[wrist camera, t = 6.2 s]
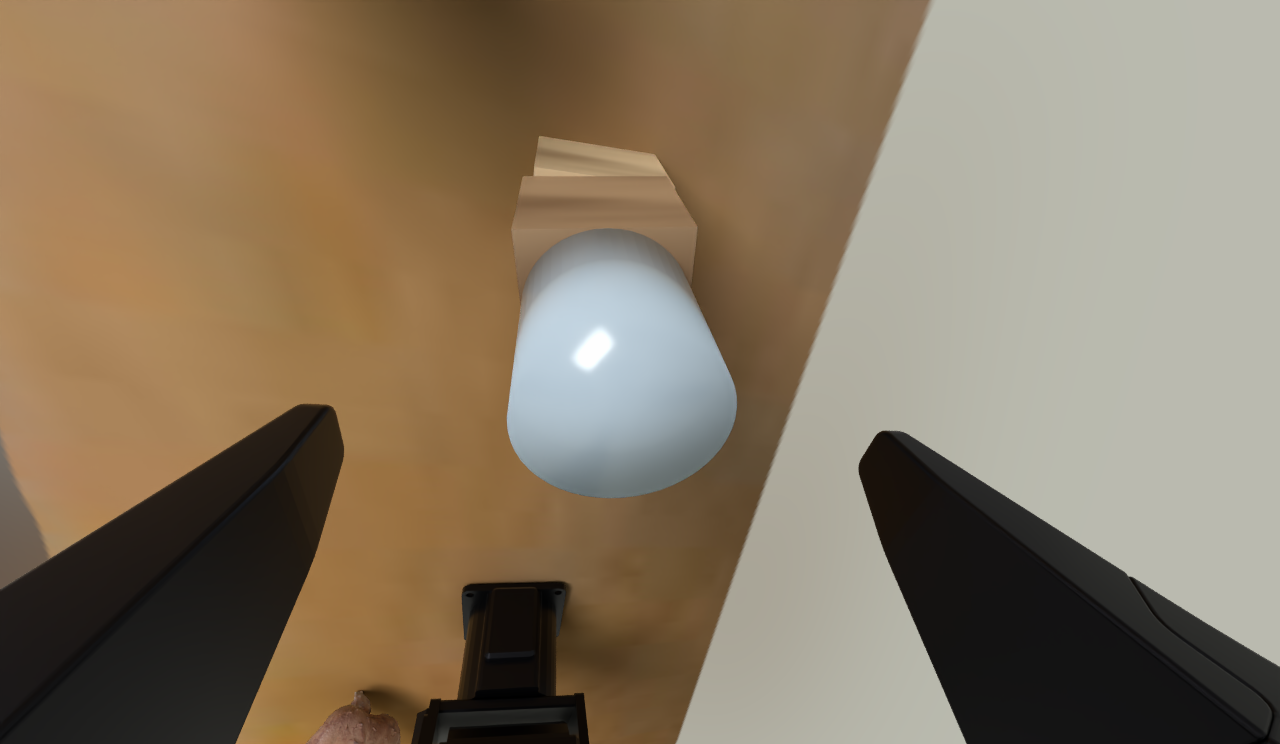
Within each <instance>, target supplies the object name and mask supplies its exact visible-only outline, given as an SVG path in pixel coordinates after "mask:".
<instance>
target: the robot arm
mask: <svg viewBox="0 0 1280 744" xmlns="http://www.w3.org/2000/svg"><path fill="white" fill-rule="evenodd" d="M343 457H344V445H343V440H342V436H341V432H340V428H339V424H338V419H337V415H336V412H335V410H334V409H333V407H331V406H329V405H320V404H300V405H297V406H295V407H293V408H292V409H290V410H288V411H287V412H285V413H284V414H282V415H280V416H279V417H277V418H276V419H274V420H272V421H271V422H269V423H268V424H266V425H264V426H263V427H261V428H259V429H258V430H256V431H255V432H253V433H251V434H250V435H248V436H247V437H245V438H243V439H242V440H240V441H239V442H237V443H235V444H234V445H232V446H231V447H229V448H227V449H226V450H224V451H222V452H221V453H219V454H218V455H216V456H214V457H213V458H211V459H210V460H208V461H206V462H205V463H203V464H202V465H200V466H198V467H197V468H195V469H194V470H192V471H190V472H189V473H187V474H185V475H184V476H182V477H181V478H179V479H177V480H176V481H174V482H173V483H171V484H169V485H168V486H166V487H165V488H163V489H161V490H160V491H158V492H156V493H155V494H153V495H152V496H150V497H148V498H147V499H145V500H144V501H142V502H140V503H139V504H137V505H136V506H134V507H132V508H131V509H129V510H128V511H126V512H124V513H123V514H121V515H119V516H118V517H116V518H115V519H113V520H111V521H110V522H108V523H107V524H105V525H103V526H102V527H100V528H99V529H97V530H95V531H94V532H92V533H90V534H89V535H87V536H86V537H84V538H82V539H81V540H79V541H78V542H76V543H74V544H73V545H71V546H70V547H68V548H66V549H65V550H63V551H62V552H60V553H58V554H57V555H55V556H53V557H52V558H50V559H49V560H47V561H45V562H44V563H42V564H41V565H39V566H37V567H36V568H34V569H33V570H31V571H29V572H28V573H26V574H25V575H23V576H21V577H20V578H18V579H16V580H15V581H13V582H12V583H10V584H8V585H7V586H5V587H4V588H2V589H0V744H235V743H236V741H237V739H238V736H239V734H240V732H241V729H242V727H243V725H244V722H245V720H246V718H247V715H248V713H249V711H250V708H251V706H252V703H253V701H254V699H255V696H256V694H257V692H258V689H259V687H260V685H261V682H262V680H263V678H264V675H265V673H266V671H267V668H268V666H269V664H270V661H271V659H272V657H273V654H274V652H275V650H276V647H277V645H278V643H279V640H280V638H281V635H282V633H283V631H284V628H285V626H286V624H287V621H288V619H289V617H290V614H291V612H292V610H293V607H294V605H295V603H296V600H297V598H298V596H299V593H300V591H301V589H302V586H303V584H304V582H305V579H306V577H307V575H308V572H309V570H310V567H311V564H312V562H313V559H314V557H315V554H316V551H317V547H318V544H319V541H320V538H321V534H322V531H323V527H324V524H325V521H326V517H327V514H328V510H329V507H330V503H331V500H332V496H333V493H334V490H335V486H336V483H337V479H338V476H339V472H340V469H341V466H342V462H343ZM859 475H860V479H861V482H862V485H863V488H864V491H865V494H866V497H867V501H868V504H869V507H870V510H871V513H872V516H873V519H874V522H875V526H876V529H877V532H878V535H879V538H880V541H881V544H882V547H883V549H884V552H885V555H886V557H887V559H888V562H889V564H890V567H891V569H892V571H893V574H894V576H895V578H896V581H897V583H898V585H899V588H900V590H901V592H902V594H903V597H904V599H905V602H906V604H907V606H908V609H909V611H910V613H911V616H912V618H913V620H914V622H915V625H916V627H917V630H918V632H919V634H920V636H921V639H922V641H923V644H924V646H925V648H926V651H927V653H928V655H929V657H930V660H931V662H932V664H933V667H934V669H935V671H936V674H937V676H938V678H939V680H940V683H941V685H942V688H943V690H944V692H945V695H946V697H947V699H948V702H949V704H950V706H951V709H952V711H953V713H954V716H955V718H956V720H957V723H958V725H959V727H960V730H961V732H962V734H963V736H964V738H965V741H966V743H967V744H1280V667H1279V666H1277V665H1276V664H1274V663H1272V662H1271V661H1269V660H1267V659H1265V658H1264V657H1262V656H1260V655H1259V654H1257V653H1255V652H1254V651H1252V650H1250V649H1249V648H1247V647H1245V646H1244V645H1242V644H1240V643H1238V642H1237V641H1235V640H1233V639H1232V638H1230V637H1228V636H1227V635H1225V634H1223V633H1222V632H1220V631H1218V630H1217V629H1215V628H1213V627H1212V626H1210V625H1208V624H1207V623H1205V622H1203V621H1202V620H1200V619H1199V618H1197V617H1195V616H1194V615H1192V614H1190V613H1189V612H1187V611H1185V610H1184V609H1182V608H1181V607H1179V606H1177V605H1176V604H1174V603H1173V602H1171V601H1170V600H1168V599H1166V598H1165V597H1163V596H1162V595H1160V594H1158V593H1157V592H1155V591H1154V590H1152V589H1150V588H1149V587H1147V586H1146V585H1144V584H1143V583H1141V582H1140V581H1138V580H1136V579H1135V578H1133V577H1128V576H1127V574H1126V573H1125V572H1124V571H1122V570H1120V569H1119V568H1117V567H1116V566H1114V565H1113V564H1111V563H1109V562H1108V561H1106V560H1105V559H1103V558H1101V557H1100V556H1098V555H1097V554H1095V553H1094V552H1092V551H1090V550H1089V549H1087V548H1086V547H1084V546H1083V545H1081V544H1080V543H1078V542H1076V541H1075V540H1073V539H1072V538H1070V537H1069V536H1067V535H1065V534H1064V533H1062V532H1061V531H1059V530H1057V529H1056V528H1054V527H1053V526H1051V525H1050V524H1048V523H1047V522H1045V521H1043V520H1042V519H1040V518H1039V517H1037V516H1035V515H1034V514H1032V513H1031V512H1029V511H1027V510H1026V509H1025V508H1023V507H1021V506H1020V505H1018V504H1017V503H1015V502H1013V501H1012V500H1010V499H1009V498H1007V497H1006V496H1004V495H1002V494H1001V493H999V492H998V491H996V490H994V489H993V488H991V487H990V486H988V485H987V484H985V483H984V482H982V481H980V480H979V479H977V478H976V477H974V476H973V475H971V474H969V473H968V472H966V471H965V470H963V469H962V468H960V467H958V466H957V465H955V464H954V463H952V462H951V461H949V460H947V459H946V458H944V457H943V456H941V455H940V454H938V453H936V452H935V451H933V450H931V449H930V448H929V447H927V446H925V445H924V444H922V443H921V442H919V441H918V440H916V439H914V438H913V437H911V436H910V435H908V434H906V433H904V432H900V431H881V432H879V433H878V434H877V435H876V436H875V438H874V439H873V441H872V443H871V444H870V446H869V447H868V449H867V451H866V452H865V454H864V455H863V457H862V458H861V460H860V463H859ZM565 595H566V585H565V584H563V583H532V584H489V585H467V586H465V587H464V588H463V590H462V610H463V626H464V639H465V640H466V643H465V650H464V657H463V664H462V671H461V677H460V684H459V691H458V698H457V700H441V699H431V701H430V706H429V708H427V710H424V711H422V712H420V713H418V714H417V719H416V724H415V729H414V734H413V738H412V743H411V744H589V737H588V728H587V719H586V710H585V701H584V693H575V694H574V695H564V696H556V637H557V636H558V635H559V631H560V625H561V619H562V613H563V607H564V601H565Z"/></svg>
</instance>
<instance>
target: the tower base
mask: <svg viewBox="0 0 1280 744" xmlns="http://www.w3.org/2000/svg"><path fill="white" fill-rule="evenodd" d="M534 176H667V178H668V179H669V181H670V183H671V184H672V186H673V188H674V189H675V186H674V184H673V183H672V181H671V180H670V178H669V176H668V175H667V173H666V172H665V170H664V168H663V167H662V165H661V164H660V162H659V160H658V159H657V157H656V156H655V154H650V153H644V152H638V151H632V150H625V149H619V148H613V147H607V146H600V145H594V144H588V143H582V142H575V141H569V140H563V139H557V138H550V137H544V136H539V140H538V146H537V152H536V159H535V165H534Z"/></svg>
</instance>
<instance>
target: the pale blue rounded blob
mask: <svg viewBox="0 0 1280 744" xmlns="http://www.w3.org/2000/svg"><path fill="white" fill-rule="evenodd" d="M736 410H737V395H736V391H735V386H734V383H733V380H732V378H731V376H730V373H729V371H728V369H727V367H726V364H725V362H724V360H723V358H722V356H721V353H720V351H719V349H718V347H717V345H716V343H715V340H714V338H713V336H712V334H711V332H710V329H709V327H708V325H707V323H706V321H705V318H704V316H703V314H702V312H701V310H700V307H699V305H698V303H697V301H696V299H695V296H694V294H693V292H692V290H691V288H690V285H689V283H688V281H687V279H686V277H685V275H684V272H683V270H682V269H681V267H680V265H679V264H678V262H677V261H676V259H675V258H674V257H673V256H672V255H671V253H670V252H668V251H667V250H666V249H665V248H664V247H663V246H662V245H660V244H659V243H657V242H656V241H654V240H652V239H650V238H648V237H646V236H644V235H642V234H639V233H636V232H633V231H629V230H623V229H614V228H602V229H593V230H588V231H583V232H580V233H577V234H574V235H572V236H569V237H567V238H565V239H563V240H561V241H560V242H558V243H557V244H555V245H554V246H552V247H551V248H550V249H549V250H548V251H546V252H545V253H544V254H543V255H542V256H541V257H540V259H539V260H538V261H537V262H536V263H535V265H534V266H533V268H532V270H531V271H530V273H529V275H528V277H527V280H526V282H525V285H524V289H523V294H522V302H521V310H520V318H519V326H518V334H517V342H516V349H515V357H514V365H513V373H512V381H511V389H510V397H509V405H508V414H507V427H508V433H509V437H510V441H511V443H512V446H513V448H514V450H515V452H516V453H517V455H518V456H519V458H520V460H521V461H522V462H523V463H524V464H525V465H526V466H527V468H528V469H529V470H531V471H532V472H533V473H534V474H535V475H537V476H538V477H539V478H541V479H543V480H544V481H546V482H547V483H549V484H551V485H553V486H555V487H557V488H560V489H562V490H565V491H568V492H571V493H575V494H579V495H583V496H590V497H598V498H624V497H632V496H638V495H643V494H648V493H652V492H655V491H659V490H662V489H664V488H667V487H669V486H672V485H674V484H676V483H678V482H680V481H682V480H684V479H686V478H687V477H689V476H691V475H692V474H694V473H695V472H697V471H698V470H699V469H701V468H702V467H703V466H705V465H706V464H707V463H708V462H709V461H710V460H711V459H712V458H713V457H714V456H715V455H716V454H717V452H718V451H719V450H720V449H721V448H722V446H723V444H724V443H725V441H726V440H727V438H728V436H729V434H730V432H731V430H732V427H733V424H734V421H735V417H736Z"/></svg>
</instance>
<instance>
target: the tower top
mask: <svg viewBox="0 0 1280 744" xmlns="http://www.w3.org/2000/svg"><path fill="white" fill-rule="evenodd" d="M602 228H614V229H623V230H629V231H633V232H636V233H639V234H642V235H644V236H646V237H648V238H650V239H652V240H654V241H656V242H657V243H659V244H660V245H662V246H663V247H664V248H665V249H666V250H667V251H668V252H670V253H671V255H672V256H673V257H674V258H675V259H676V261H677V262H678V264H679V265H680V267H681V269H682V270H683V272H684V275H685V277H686V279H687V281H688V283H689V285H690V288H691V285H692V275H693V266H694V257H695V248H696V238H697V229H698V227H697V225H696V224H695V222H694V220H693V219H692V217H691V215H690V214H689V212H688V210H687V209H686V207H685V206H684V204H683V202H682V201H681V199H680V197H679V196H678V194H677V193H676V191H675V189H674V188H673V186H672V184H671V183H670V181H669V179H668V178H667V176H523V178H522V183H521V187H520V192H519V196H518V201H517V206H516V210H515V215H514V219H513V224H512V229H511V231H512V239H513V247H514V255H515V263H516V271H517V280H518V288H519V296H520V304H521V302H522V294H523V289H524V285H525V282H526V280H527V277H528V275H529V273H530V271H531V270H532V268H533V266H534V265H535V263H536V262H537V261H538V260H539V259H540V257H541V256H542V255H543V254H544V253H545V252H546V251H548V250H549V249H550V248H551V247H552V246H554V245H555V244H557V243H558V242H560V241H561V240H563V239H565V238H567V237H569V236H572V235H574V234H577V233H580V232H583V231H588V230H593V229H602Z"/></svg>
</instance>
